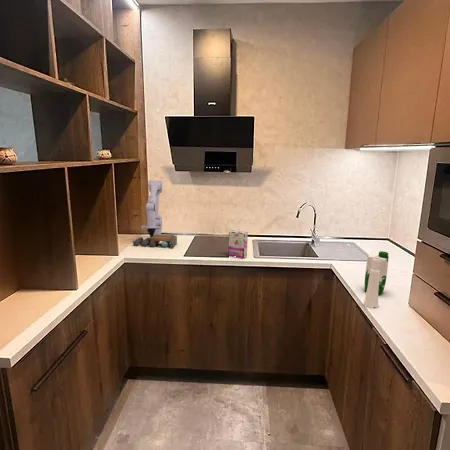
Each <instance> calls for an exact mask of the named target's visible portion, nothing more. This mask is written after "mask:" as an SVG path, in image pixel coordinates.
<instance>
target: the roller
mask: <svg viewBox="0 0 450 450" xmlns="http://www.w3.org/2000/svg"><path fill="white" fill-rule="evenodd" d="M169 243H170V241H161V243H160V244H161V246H162V247H163V248H166V246H167V245H168V244H169Z"/></svg>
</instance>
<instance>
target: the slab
mask: <svg viewBox="0 0 450 450" xmlns="http://www.w3.org/2000/svg"><path fill="white" fill-rule="evenodd" d="M174 236H175V234H161V235H154V236H153V237H151V241H160V242H163V241H170V239H171V238H172V237H174Z"/></svg>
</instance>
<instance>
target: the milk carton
mask: <svg viewBox="0 0 450 450" xmlns="http://www.w3.org/2000/svg"><path fill="white" fill-rule="evenodd" d="M374 256H378V257H380V258H379V259H380V264H379V270H380V275H379V289H378V296H380V295H381V296H382V294H383V293H384V290H385V286H386V282H387V275H388V267H389V252H388V251H381V250H380V251H378V253H375V252H371V253H370V254H369V255H368V256H367V260H366V265H365V266H366V267H365V275H364V292H365V293H366V292H367V287H368V281H369V275H370V270H371V269H372V262H373V258H374Z"/></svg>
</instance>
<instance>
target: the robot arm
mask: <svg viewBox="0 0 450 450" xmlns="http://www.w3.org/2000/svg"><path fill="white" fill-rule="evenodd" d="M147 185H148V190H149V193H150V195H148V198H147V203H146V204H145V210H146V219H147V220H146V221H147V222H146V223H147V224H146V225H141V226H140V229H146V230H147V232H148V234H149V238H151V237H153V236H154V235H162V230H163V218H162V216H161V215H159V212H160V211H159V210H160V209H159V206H160V194H162V192H163V181H162V180H148V184H147Z"/></svg>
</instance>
